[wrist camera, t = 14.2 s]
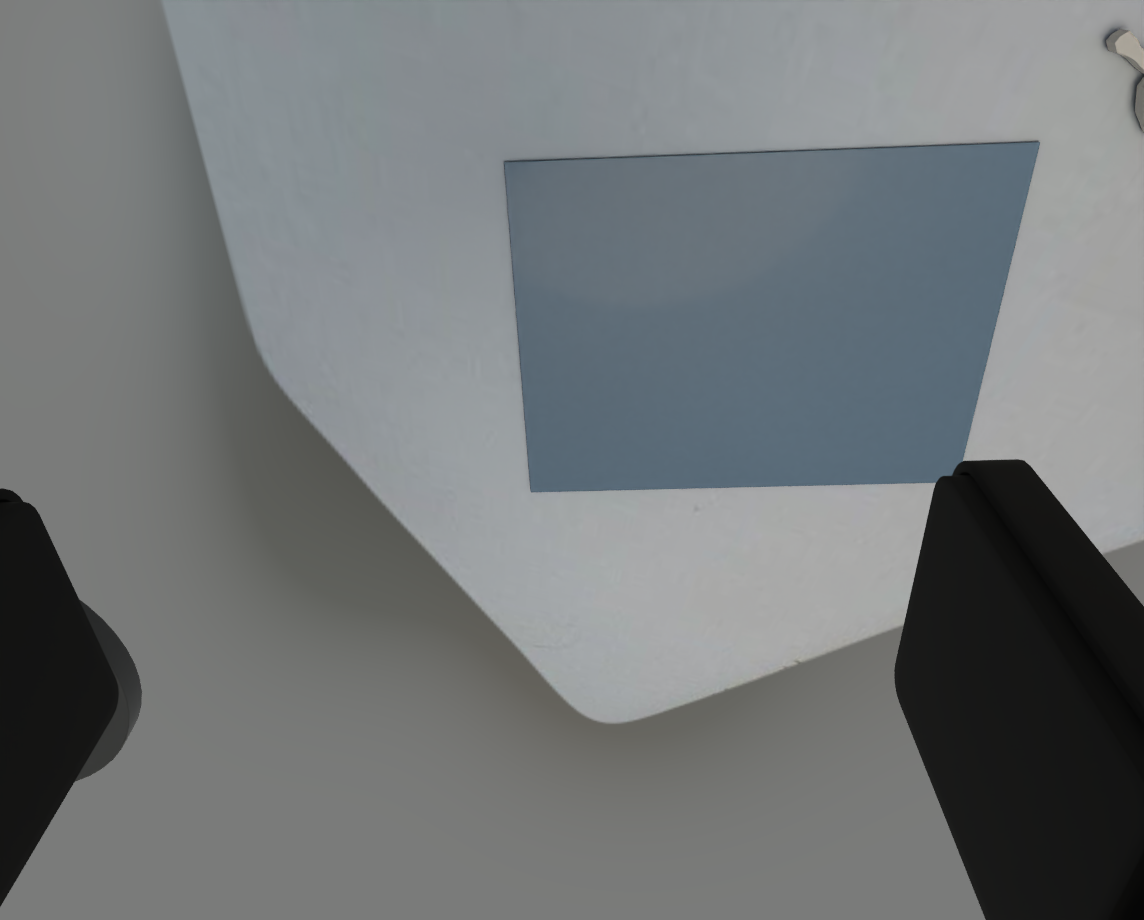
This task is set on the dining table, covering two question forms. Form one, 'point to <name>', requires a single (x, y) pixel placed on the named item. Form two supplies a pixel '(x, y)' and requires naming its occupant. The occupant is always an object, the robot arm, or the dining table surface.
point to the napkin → (759, 312)
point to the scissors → (1136, 55)
